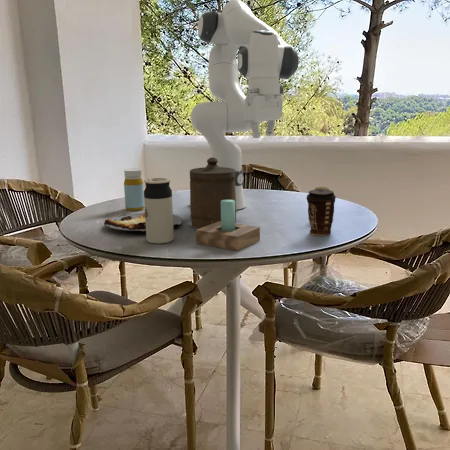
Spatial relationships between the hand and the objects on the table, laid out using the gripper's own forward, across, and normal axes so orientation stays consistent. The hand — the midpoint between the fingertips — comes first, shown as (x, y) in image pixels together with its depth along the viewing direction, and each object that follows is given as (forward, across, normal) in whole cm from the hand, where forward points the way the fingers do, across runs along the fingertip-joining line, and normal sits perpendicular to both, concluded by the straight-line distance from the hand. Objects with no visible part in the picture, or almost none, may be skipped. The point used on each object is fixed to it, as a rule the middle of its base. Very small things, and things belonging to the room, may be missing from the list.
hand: (263, 136), depth 146 cm
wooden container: (+29, -1, +17) cm, 34 cm away
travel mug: (+29, -24, +22) cm, 44 cm away
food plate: (+29, -13, +37) cm, 49 cm away
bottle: (+29, +6, +55) cm, 63 cm away
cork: (+29, +21, -12) cm, 38 cm away
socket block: (+29, -17, +3) cm, 33 cm away
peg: (+29, -17, +3) cm, 33 cm away
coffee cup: (+29, +3, -18) cm, 34 cm away
